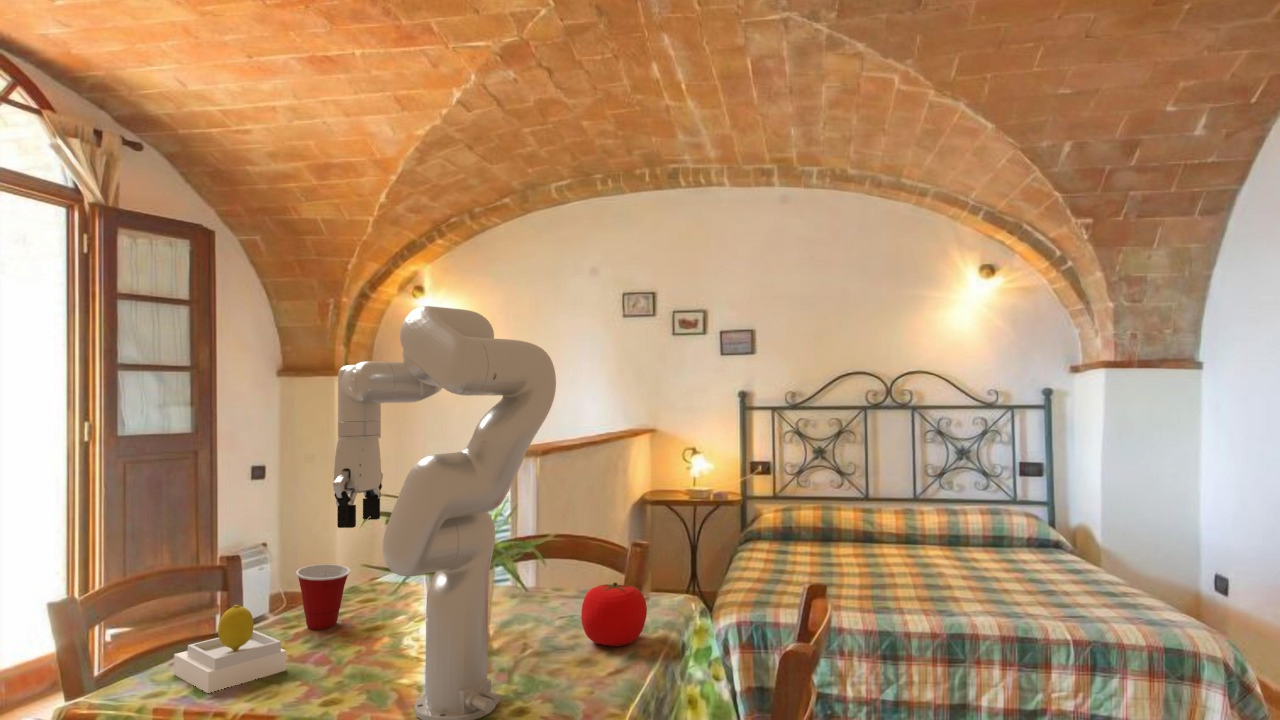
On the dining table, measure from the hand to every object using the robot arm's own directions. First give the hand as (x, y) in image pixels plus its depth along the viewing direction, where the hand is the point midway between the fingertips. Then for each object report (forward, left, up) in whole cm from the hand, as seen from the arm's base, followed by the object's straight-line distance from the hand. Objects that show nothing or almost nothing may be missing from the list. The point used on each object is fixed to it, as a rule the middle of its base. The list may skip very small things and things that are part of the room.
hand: (359, 523), depth 137 cm
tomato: (-30, -38, -26) cm, 55 cm away
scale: (+14, +16, -26) cm, 33 cm away
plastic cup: (+26, -8, -26) cm, 37 cm away
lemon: (+12, +16, -22) cm, 30 cm away
